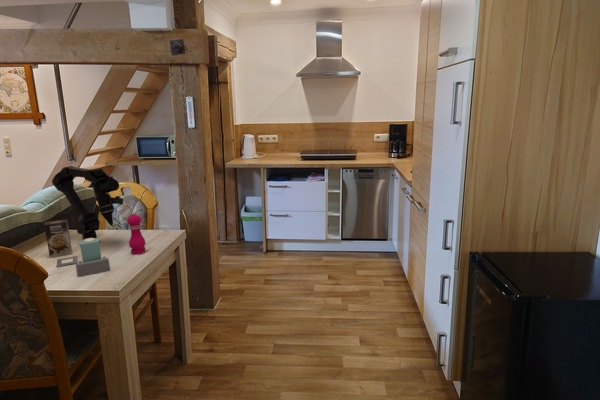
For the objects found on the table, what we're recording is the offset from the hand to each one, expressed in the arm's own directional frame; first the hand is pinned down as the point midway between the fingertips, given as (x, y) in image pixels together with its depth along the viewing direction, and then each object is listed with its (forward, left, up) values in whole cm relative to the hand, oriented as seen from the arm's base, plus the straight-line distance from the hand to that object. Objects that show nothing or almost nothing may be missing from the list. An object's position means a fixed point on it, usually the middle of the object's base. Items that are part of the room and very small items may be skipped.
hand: (111, 225), depth 191 cm
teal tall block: (+13, -23, -11) cm, 29 cm away
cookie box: (-17, -15, -12) cm, 26 cm away
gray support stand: (+14, -24, -11) cm, 30 cm away
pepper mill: (+17, -1, -12) cm, 20 cm away
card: (-5, -21, -11) cm, 25 cm away
